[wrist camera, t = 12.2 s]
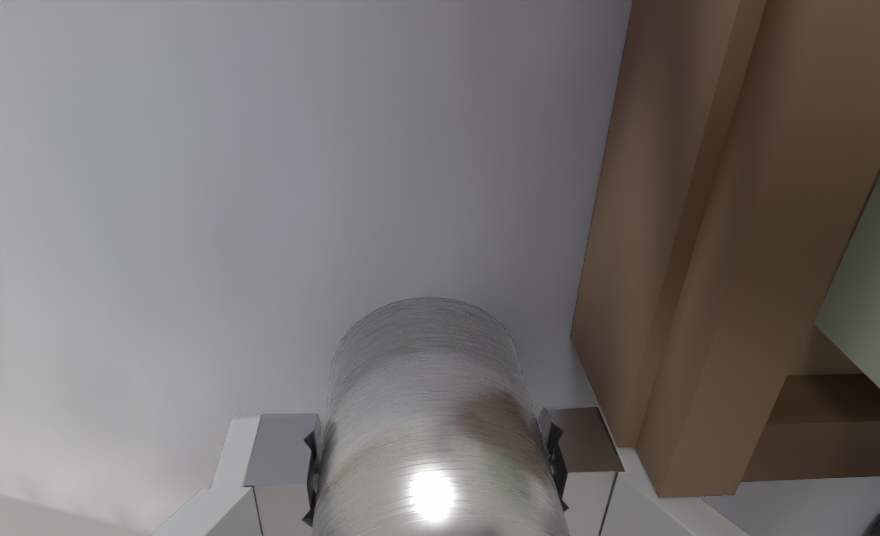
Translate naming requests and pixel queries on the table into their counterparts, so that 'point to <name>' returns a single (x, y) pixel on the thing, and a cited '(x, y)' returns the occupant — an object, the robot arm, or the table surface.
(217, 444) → the table surface
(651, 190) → the walnut base
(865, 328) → the sage cube
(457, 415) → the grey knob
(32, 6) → the table surface
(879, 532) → the supplement bottle
